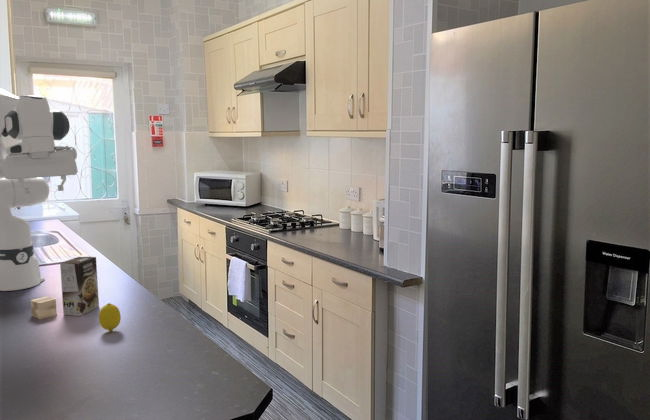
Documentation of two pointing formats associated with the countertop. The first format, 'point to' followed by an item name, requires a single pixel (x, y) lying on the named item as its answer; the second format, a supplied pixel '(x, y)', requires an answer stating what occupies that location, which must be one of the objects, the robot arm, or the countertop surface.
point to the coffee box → (79, 285)
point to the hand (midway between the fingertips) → (44, 192)
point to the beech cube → (43, 307)
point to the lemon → (109, 317)
